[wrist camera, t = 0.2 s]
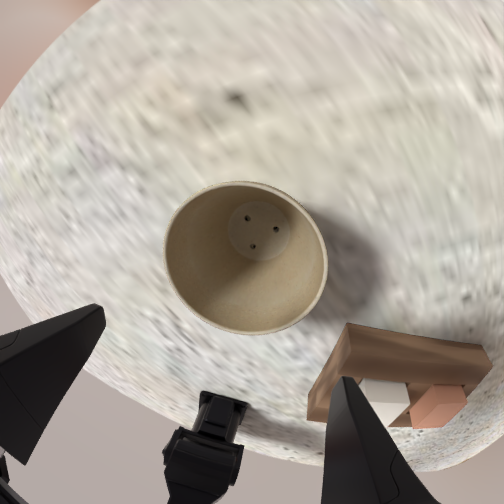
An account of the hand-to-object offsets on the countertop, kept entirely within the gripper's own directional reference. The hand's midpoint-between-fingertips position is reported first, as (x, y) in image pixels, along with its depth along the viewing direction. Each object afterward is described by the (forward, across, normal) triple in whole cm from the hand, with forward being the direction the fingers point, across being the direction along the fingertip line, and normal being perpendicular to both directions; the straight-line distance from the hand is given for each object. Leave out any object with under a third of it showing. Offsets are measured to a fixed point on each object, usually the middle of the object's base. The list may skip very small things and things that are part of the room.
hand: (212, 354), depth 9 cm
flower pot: (+15, +1, +1) cm, 15 cm away
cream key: (+11, -15, +14) cm, 23 cm away
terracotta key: (+11, -24, +14) cm, 30 cm away
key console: (+14, -19, +14) cm, 28 cm away
